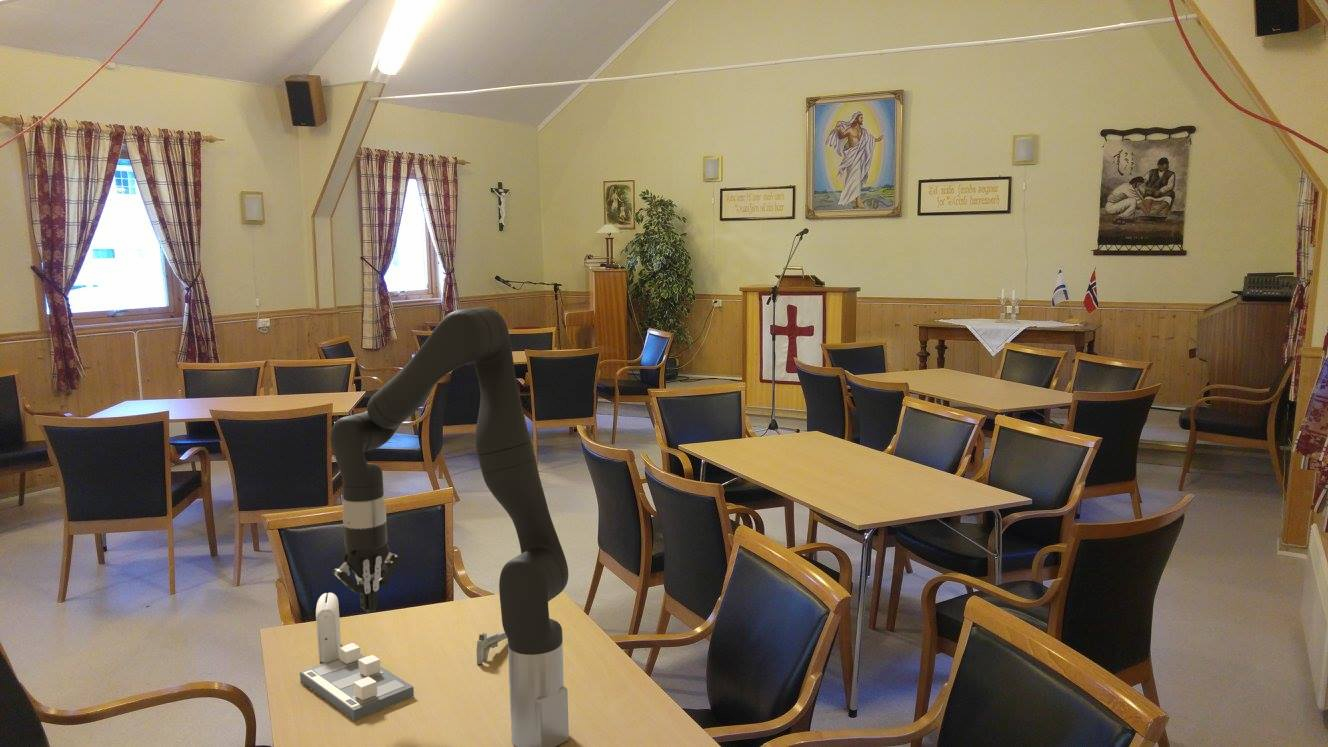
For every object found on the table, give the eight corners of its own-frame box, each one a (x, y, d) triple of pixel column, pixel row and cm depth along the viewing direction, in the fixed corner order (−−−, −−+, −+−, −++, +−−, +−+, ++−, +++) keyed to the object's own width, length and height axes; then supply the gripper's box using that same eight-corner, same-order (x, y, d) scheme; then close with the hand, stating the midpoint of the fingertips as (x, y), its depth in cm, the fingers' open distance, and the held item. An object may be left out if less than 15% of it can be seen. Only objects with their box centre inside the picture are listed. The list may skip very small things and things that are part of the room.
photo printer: (340, 661, 185) (336, 604, 183) (317, 664, 184) (313, 607, 182) (342, 641, 195) (338, 586, 193) (321, 643, 194) (317, 589, 192)
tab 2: (377, 694, 166) (376, 681, 166) (362, 700, 164) (361, 687, 164) (369, 689, 168) (368, 676, 168) (354, 694, 166) (353, 682, 166)
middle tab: (380, 671, 175) (380, 659, 175) (366, 676, 173) (365, 664, 173) (373, 666, 177) (372, 654, 177) (358, 671, 175) (358, 659, 175)
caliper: (481, 667, 182) (480, 637, 182) (476, 666, 183) (475, 637, 182) (528, 626, 202) (527, 600, 201) (523, 626, 202) (523, 599, 201)
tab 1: (360, 658, 181) (359, 647, 180) (346, 663, 179) (345, 652, 178) (353, 654, 183) (352, 642, 182) (339, 659, 181) (338, 647, 180)
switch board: (413, 696, 170) (413, 685, 170) (354, 720, 162) (353, 709, 161) (357, 660, 185) (356, 651, 185) (300, 681, 177) (299, 671, 176)
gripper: (340, 533, 158) (346, 627, 160) (407, 516, 167) (412, 605, 170) (320, 524, 163) (326, 615, 165) (386, 508, 172) (391, 595, 175)
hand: (369, 610), depth 168 cm, fingers closed
